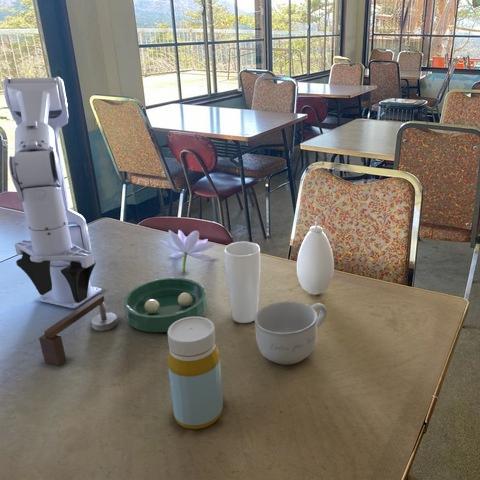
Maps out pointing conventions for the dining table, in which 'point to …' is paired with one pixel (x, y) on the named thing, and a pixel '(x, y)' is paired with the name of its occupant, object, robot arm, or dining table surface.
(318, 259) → the sauce bottle
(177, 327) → the bottle
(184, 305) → the ball
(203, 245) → the water lily
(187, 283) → the bowl
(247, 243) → the white tumbler
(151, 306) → the ball
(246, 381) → the dining table surface
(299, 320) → the teacup
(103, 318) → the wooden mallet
